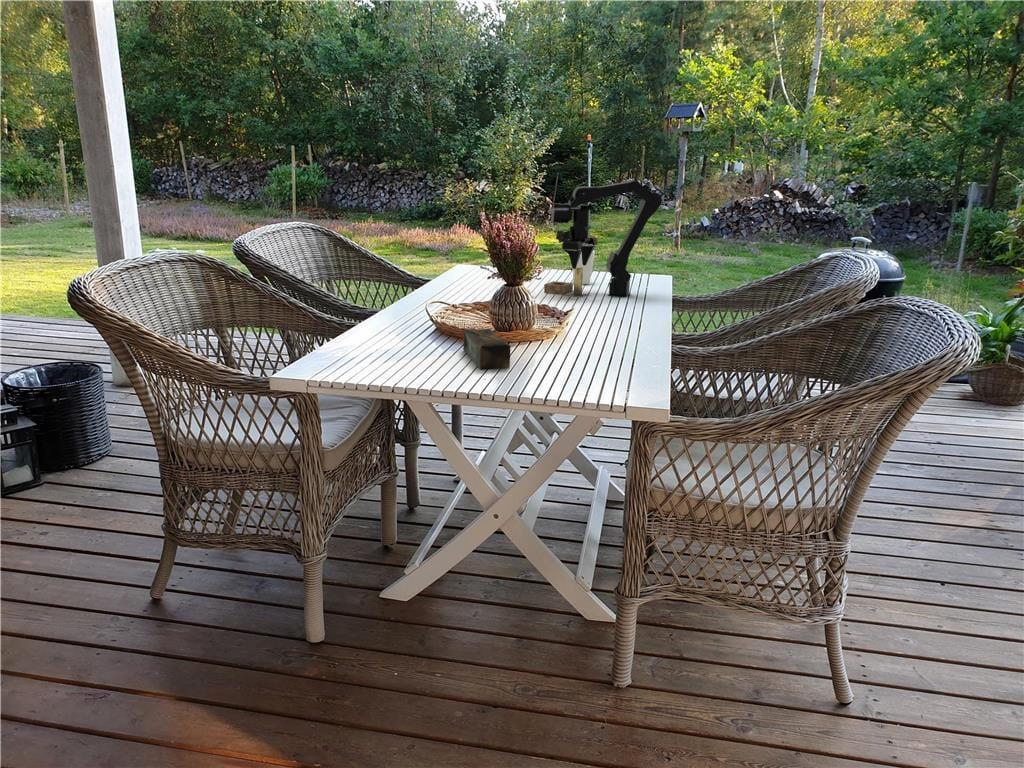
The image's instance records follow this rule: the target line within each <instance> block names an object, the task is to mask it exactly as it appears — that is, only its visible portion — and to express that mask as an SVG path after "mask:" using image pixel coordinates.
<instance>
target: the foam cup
mask: <svg viewBox="0 0 1024 768" xmlns="http://www.w3.org/2000/svg"><path fill="white" fill-rule="evenodd" d="M580 250H581V249H580ZM595 256H596V252H595V250H593V252H592V254H591V256H590V258H589V260H588V262H587V264H586V265H585V266H584V265H583V264H582V252H581V255H580V258H579V261H578V264H577V267H582V268H583V282H582V284H589V283H591V277H592V273H593V266H594V260H595ZM571 268H572V267H571ZM574 274H575V269H573V268H572V278H573V282H572V283H574ZM589 285H590V284H589Z"/></svg>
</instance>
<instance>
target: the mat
mask: <svg viewBox="0 0 1024 768" xmlns="http://www.w3.org/2000/svg"><path fill="white" fill-rule="evenodd" d="M589 295H590V294H589V293H582V296H574V292H571V293H568V294H566V295H563V296H564V297H571V298H578V299H579V298H580V299H581V298H584V297H587V296H589Z"/></svg>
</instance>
